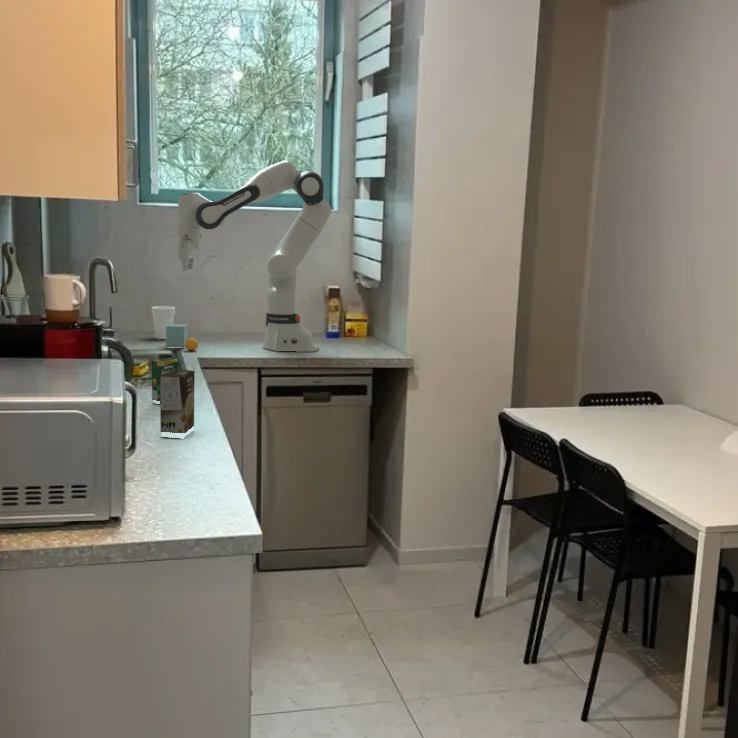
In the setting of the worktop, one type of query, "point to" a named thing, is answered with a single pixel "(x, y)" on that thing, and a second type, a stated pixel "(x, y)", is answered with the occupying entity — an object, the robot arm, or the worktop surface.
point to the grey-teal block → (176, 335)
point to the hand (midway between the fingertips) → (187, 269)
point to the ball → (191, 344)
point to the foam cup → (162, 319)
